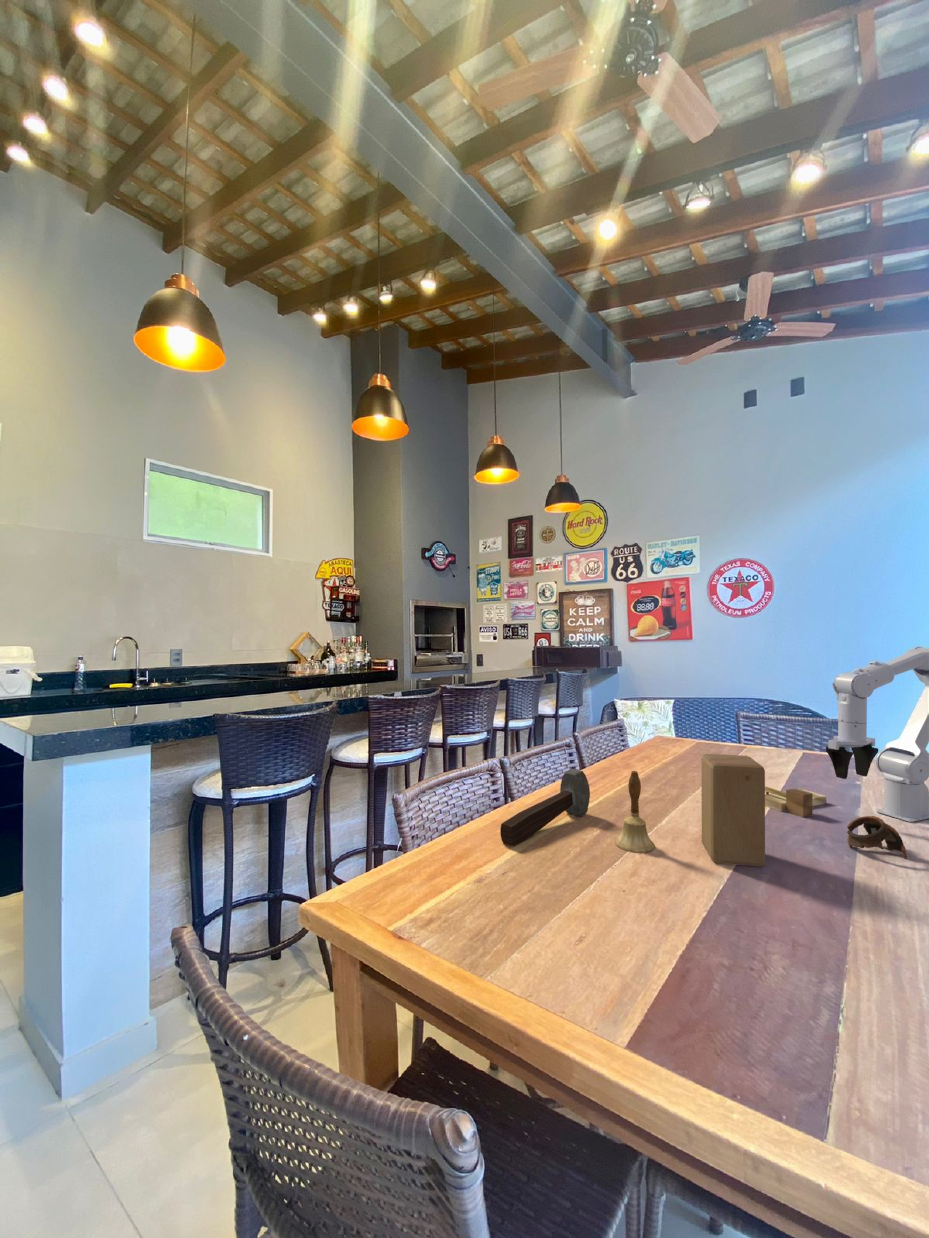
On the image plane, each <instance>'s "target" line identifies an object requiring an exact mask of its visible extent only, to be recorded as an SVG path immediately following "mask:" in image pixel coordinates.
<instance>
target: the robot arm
mask: <svg viewBox="0 0 929 1238" xmlns="http://www.w3.org/2000/svg"><path fill="white" fill-rule="evenodd" d="M908 671H913V673H914V674H915V675H916V677H917V678H918V680H919V681H920V682H921V683H923V684H924V686H925V687H924V688H923V691H922V693H921V694H920V696H919V699H918V701H917V703H916V705H915V707H914V709H913V710H912V713H911V715H910V717H909V718H908V721H907V723H906V724H905V727H904V728H903V730H902V732H901V734H900V736H899V738H898V739H895V740H892V741H889V742H887V743H886V744H885V746H884V748H883V749H882V750H880V751H879V748H878V747H876V738H873V737H868V734H867V732H868V731H867V729H868V726H867V722H868V721H867V720H868V719H867V718H868V716H867V715H868V698H869V697H871V696H872V694H873V693H874V691H875V690H876V689H878V688H880V687H883V686H885V685H888V684H891V683H893V681H894V680H895V676H897V675H900V674H903V673H906V672H908ZM832 688H833V691H834V692H835V695H836V700H837V701H838V710H837V711H838V717H837V718H838V719H837V720H838V723H837V725H838V727H837V728H838V730H837V735H834V736H833V739H830V740H829V739H828V742H827V744H828V746H825V752H826V753H827V755H828V757H829V759H830V761H831V762H832V766H833V769H834V773H835V776H836V777H837V778H838V779H843V780H847V778H848V775H849V767H850V761H851V759H852V757H853V759H854V765H855V766H854V769H855V773H856V775H858V776H861V777H867V776H868V775H869V771H870V768H871V765H872V762H873V760H874V759H875V765H876V769H877V770H878V771H879V772H880V773H881V777H883V778H884V780H883V781H884V783H883V786H884V788H883V789H884V791H883V793H884V794H883V796H884V799H883V800H884V807H883V808H878V809H876V810H875V812H876V813H880V814H882V815H885V816H889V817H893V818H895V819H899V820H902V821H906V822H909V823H914V822H919V821H922V820H928V819H929V788H928V786H927V784H926V783H925V782H926V781H927V780H928V779H929V751H928V750H927V747H928V744H929V647H924V646H916V647H913V648H910V649H907V650H906V653H903V654H901V655H899V656H897V657H895V658H894V659H891V660H890V661H889V660H888V661H887V662H883V661H877V660H872V661H869V664H868V665H866V666H863V667H860V668H858V667H857V668H855V669H854V670H853V671H851V672H841V673H839V674H838V675H837V676H835V678H834V681H833V683H832ZM848 748H850V749H851V751H849V750H847V749H848ZM875 757H876V758H875Z"/></svg>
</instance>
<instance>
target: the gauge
mask: <svg viewBox="0 0 929 1238" xmlns="http://www.w3.org/2000/svg"><path fill="white" fill-rule="evenodd" d="M799 789H800V788H789V789H786V790H785V791H786V793H785V791H780V790H778V789H775V788H773V787H769V786H765V795H766V794H767V795H769V794H775V795H778V796H781V797H784V798H786V811H785V812H786V813H789V814H793V815H796V816H798V817H800V818H806V817H812V816H813V813H814V812H813V811H814V810H813V807H814V806H813V802H812V793H809V792H806V791H802V790H799Z"/></svg>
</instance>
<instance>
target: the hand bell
mask: <svg viewBox="0 0 929 1238" xmlns="http://www.w3.org/2000/svg"><path fill="white" fill-rule="evenodd" d="M641 790H642V785H641V779H640V776H639V772H638V771H637V770H632V771H631V772H630V777H629V779H628V793H629V796H630V816H626V817H625V818H624V819H623V825H622V826H623V827H622V830H621V833H620V834H619V835H618V836H617V837H616V838H615V840H614V844H615V845H616V846H617V847H618V848H620V849H621V850H623V849H624V851H626V850H627V852H629V853H630V852H632V853H637V852H646V853H649V852H652V851H654V850H655V848H656V846H655V845H656V844H654V841H653V840H652V839H650V836H649V834H648V831H647V824H646V820H645V819H643V818H641V817H640V811H639V809H640V808H639V807H640V806H639V800H640V795H641ZM653 849H654V850H653Z"/></svg>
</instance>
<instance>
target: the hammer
mask: <svg viewBox="0 0 929 1238" xmlns="http://www.w3.org/2000/svg"><path fill="white" fill-rule="evenodd" d="M559 790H560V792H559V793H556V794H555V795H553V796H550V797H548V798H546V799H544V800H542V801H540V802H537V803H535V804H534V805H532V806H530V807H527V808H526V809H523V810H522V811H520V812H518V813H516V814H514V815H512V816H511V817H510V818H508V819H507V820H504V821H503V822H502V823H501V824H500V840H501V841H502V843H503V844H505V845H508V846H511V847H515V846H517V845H520V844H522V843H523V842H525V841H527V840H528V839H530V838H531V837H532V836H534V835H535V834H536V833H538V832H539V831H540V830H542V829H543V828H544V827H545V826H547V825H549V823H551V822H552V821H554V820H555V819H556V818H557V817H558V816H560V815H561V814H562V813H564V812H566V814H568V815H571V816H576V817H579V818H582V817H583V816H585V815H586V814H587V812H588V811H589V804H590V799H591V791H590V784H589V780H588V778H587V775H586V773H585V772H584V771H583V770H579V769H577V768H571V769H568V770H567V771H565V772H564V773H563V775H562V777H561V782H560V789H559Z"/></svg>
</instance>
